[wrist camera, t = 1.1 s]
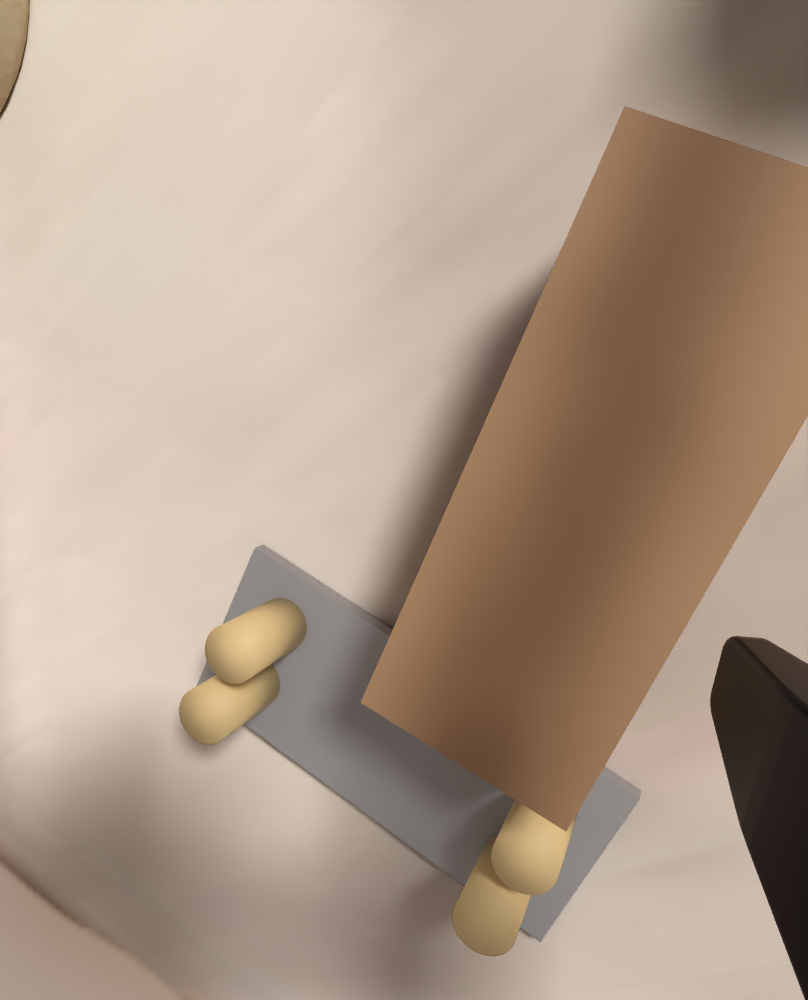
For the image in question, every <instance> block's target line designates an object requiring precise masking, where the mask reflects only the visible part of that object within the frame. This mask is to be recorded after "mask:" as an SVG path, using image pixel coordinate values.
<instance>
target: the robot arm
mask: <svg viewBox="0 0 808 1000" xmlns="http://www.w3.org/2000/svg"><path fill="white" fill-rule="evenodd" d="M710 705H711V713H712V718H713V721H714V725H715V729H716V733H717V737H718V741H719V745H720V749H721V753H722V757H723V761H724V765H725V769H726V773H727V777H728V781H729V785H730V789H731V793H732V797H733V801H734V805H735V809H736V812H737V816H738V820H739V823H740V827H741V830H742V833H743V836H744V838H745V841H746V844H747V847H748V850H749V852H750V855H751V858H752V860H753V863H754V866H755V868H756V871H757V874H758V876H759V879H760V882H761V884H762V887H763V890H764V892H765V895H766V897H767V900H768V903H769V905H770V908H771V911H772V913H773V916H774V919H775V921H776V924H777V927H778V929H779V932H780V935H781V937H782V940H783V943H784V945H785V948H786V950H787V953H788V956H789V958H790V961H791V964H792V966H793V969H794V972H795V974H796V977H797V980H798V982H799V985H800V988H801V990H802V993H803V995H804V998H805V1000H808V664H807V663H805V662H804V661H802V660H800V659H799V658H797V657H795V656H794V655H792V654H790V653H789V652H787V651H785V650H784V649H782V648H780V647H778V646H777V645H775V644H773V643H772V642H770V641H768V640H766V639H763V638H754V637H740V636H733V637H731V638H729V639H728V640H727V641H726V643H725V644H724V646H723V649H722V653H721V657H720V661H719V665H718V668H717V672H716V676H715V680H714V684H713V688H712V692H711V699H710Z"/></svg>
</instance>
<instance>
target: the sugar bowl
mask: <svg viewBox="0 0 808 1000" xmlns="http://www.w3.org/2000/svg"><path fill="white" fill-rule="evenodd" d="M28 17H29V0H0V112H1V110H2V109H3V107H4V105H5V102H6V100H7V98H8V96H9V94H10V92H11V89H12V87H13V85H14V83H15V80H16V78H17V75H18V72H19V69H20V65H21V61H22V57H23V52H24V48H25V43H26V37H27V27H28Z"/></svg>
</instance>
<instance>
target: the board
mask: <svg viewBox="0 0 808 1000" xmlns="http://www.w3.org/2000/svg"><path fill="white" fill-rule="evenodd" d="M807 416H808V167H805V166H802V165H799V164H796V163H793V162H790V161H787V160H784V159H781V158H778V157H775V156H772V155H769V154H766V153H763V152H760V151H757V150H754V149H751V148H748V147H745V146H742V145H739V144H736V143H733V142H730V141H727V140H724V139H721V138H718V137H715V136H712V135H709V134H706V133H703V132H700V131H697V130H694V129H691V128H688V127H685V126H682V125H679V124H676V123H673V122H670V121H667V120H664V119H661V118H658V117H655V116H652V115H649V114H646V113H643V112H640V111H637V110H634V109H631V108H628V107H624V109H623V111H622V114H621V116H620V118H619V121H618V123H617V125H616V127H615V130H614V132H613V134H612V136H611V139H610V141H609V143H608V145H607V148H606V150H605V152H604V154H603V157H602V159H601V161H600V163H599V166H598V168H597V170H596V172H595V175H594V177H593V179H592V181H591V184H590V186H589V188H588V190H587V193H586V195H585V197H584V199H583V202H582V204H581V206H580V208H579V211H578V213H577V215H576V218H575V220H574V222H573V224H572V227H571V229H570V231H569V233H568V236H567V238H566V240H565V242H564V245H563V247H562V249H561V251H560V254H559V256H558V258H557V260H556V263H555V265H554V267H553V269H552V272H551V274H550V276H549V278H548V281H547V283H546V285H545V287H544V290H543V292H542V294H541V296H540V299H539V301H538V303H537V305H536V308H535V310H534V312H533V314H532V317H531V319H530V321H529V324H528V326H527V328H526V330H525V333H524V335H523V337H522V339H521V342H520V344H519V346H518V348H517V351H516V353H515V355H514V357H513V360H512V362H511V364H510V366H509V369H508V371H507V373H506V375H505V378H504V380H503V382H502V384H501V387H500V389H499V391H498V393H497V396H496V398H495V400H494V402H493V405H492V407H491V409H490V411H489V414H488V416H487V418H486V421H485V423H484V425H483V427H482V430H481V432H480V434H479V436H478V439H477V441H476V443H475V445H474V448H473V450H472V452H471V454H470V457H469V459H468V461H467V463H466V466H465V468H464V470H463V472H462V475H461V477H460V479H459V481H458V484H457V486H456V488H455V490H454V493H453V495H452V497H451V499H450V502H449V504H448V506H447V508H446V511H445V513H444V515H443V518H442V520H441V522H440V524H439V527H438V529H437V531H436V533H435V536H434V538H433V540H432V542H431V545H430V547H429V549H428V551H427V554H426V556H425V558H424V560H423V563H422V565H421V567H420V569H419V572H418V574H417V576H416V578H415V581H414V583H413V585H412V587H411V590H410V592H409V594H408V596H407V599H406V601H405V603H404V605H403V608H402V610H401V612H400V615H399V617H398V619H397V621H396V624H395V626H394V628H393V630H392V633H391V635H390V637H389V639H388V642H387V644H386V646H385V648H384V651H383V653H382V655H381V657H380V660H379V662H378V664H377V666H376V669H375V671H374V673H373V675H372V678H371V680H370V682H369V684H368V687H367V689H366V691H365V693H364V696H363V698H362V700H361V702H360V703H362V704H364V705H365V706H367V707H368V708H370V709H371V710H373V711H375V712H376V713H378V714H379V715H381V716H383V717H384V718H386V719H387V720H389V721H391V722H392V723H394V724H395V725H397V726H399V727H400V728H402V729H403V730H405V731H407V732H408V733H410V734H411V735H413V736H414V737H416V738H418V739H419V740H421V741H422V742H424V743H426V744H427V745H429V746H430V747H432V748H434V749H435V750H437V751H438V752H440V753H442V754H443V755H445V756H446V757H448V758H450V759H451V760H453V761H454V762H456V763H457V764H459V765H461V766H462V767H464V768H465V769H467V770H469V771H470V772H472V773H473V774H475V775H477V776H478V777H480V778H481V779H483V780H485V781H486V782H488V783H489V784H491V785H492V786H494V787H496V788H497V789H499V790H500V791H502V792H504V793H505V794H507V795H508V796H510V797H512V798H513V799H515V800H516V801H518V802H520V803H521V804H523V805H524V806H526V807H528V808H529V809H531V810H532V811H534V812H535V813H537V814H539V815H540V816H542V817H543V818H545V819H547V820H548V821H550V822H551V823H553V824H555V825H556V826H558V827H559V828H561V829H563V830H564V831H567V830H568V828H569V826H570V825H571V823H572V821H573V819H574V818H575V816H576V814H577V813H578V811H579V809H580V807H581V806H582V804H583V802H584V800H585V799H586V797H587V795H588V794H589V792H590V790H591V788H592V787H593V785H594V783H595V781H596V780H597V778H598V776H599V775H600V773H601V771H602V769H603V768H604V766H605V764H606V763H607V761H608V759H609V757H610V756H611V754H612V752H613V750H614V749H615V747H616V745H617V744H618V742H619V740H620V738H621V737H622V735H623V733H624V732H625V730H626V728H627V726H628V725H629V723H630V721H631V719H632V718H633V716H634V714H635V713H636V711H637V709H638V707H639V706H640V704H641V702H642V701H643V699H644V697H645V695H646V694H647V692H648V690H649V688H650V687H651V685H652V683H653V682H654V680H655V678H656V676H657V675H658V673H659V671H660V670H661V668H662V666H663V664H664V663H665V661H666V659H667V657H668V656H669V654H670V652H671V651H672V649H673V647H674V645H675V644H676V642H677V640H678V638H679V637H680V635H681V633H682V632H683V630H684V628H685V626H686V625H687V623H688V621H689V620H690V618H691V616H692V614H693V613H694V611H695V609H696V607H697V606H698V604H699V602H700V601H701V599H702V597H703V595H704V594H705V592H706V590H707V589H708V587H709V585H710V583H711V582H712V580H713V578H714V576H715V575H716V573H717V571H718V570H719V568H720V566H721V564H722V563H723V561H724V559H725V558H726V556H727V554H728V552H729V551H730V549H731V547H732V545H733V544H734V542H735V540H736V539H737V537H738V535H739V533H740V532H741V530H742V528H743V527H744V525H745V523H746V521H747V520H748V518H749V516H750V514H751V513H752V511H753V509H754V508H755V506H756V504H757V502H758V501H759V499H760V497H761V495H762V494H763V492H764V490H765V489H766V487H767V485H768V483H769V482H770V480H771V478H772V477H773V475H774V473H775V471H776V470H777V468H778V466H779V464H780V463H781V461H782V459H783V458H784V456H785V454H786V452H787V451H788V449H789V447H790V446H791V444H792V442H793V440H794V439H795V437H796V435H797V433H798V432H799V430H800V428H801V427H802V425H803V423H804V421H805V420H806V418H807Z"/></svg>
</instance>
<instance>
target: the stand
mask: <svg viewBox="0 0 808 1000" xmlns="http://www.w3.org/2000/svg"><path fill="white" fill-rule="evenodd" d="M392 630H393V629H392V628H390V627H389V626H387V625H386V624H384V623H382V622H381V621H379V620H378V619H376V618H375V617H373V616H372V615H370V614H369V613H367V612H366V611H364V610H363V609H361V608H359V607H358V606H356V605H355V604H353V603H352V602H350V601H349V600H347V599H346V598H344V597H343V596H341V595H340V594H338V593H336V592H335V591H333V590H332V589H330V588H329V587H327V586H326V585H324V584H323V583H321V582H320V581H318V580H317V579H315V578H313V577H312V576H310V575H309V574H307V573H306V572H304V571H303V570H301V569H300V568H298V567H297V566H295V565H294V564H292V563H290V562H289V561H287V560H286V559H284V558H283V557H281V556H280V555H278V554H277V553H275V552H274V551H272V550H271V549H269V548H267V547H266V546H264V545H261V546H259V547H256V548H255V549H254V552H253V554H252V556H251V559H250V561H249V564H248V566H247V568H246V571H245V573H244V575H243V578H242V580H241V582H240V585H239V587H238V590H237V592H236V594H235V597H234V599H233V601H232V604H231V606H230V609H229V611H228V613H227V616H226V618H225V620H224V623H223V624H222V625H221V626H219V627H217V628H215V629H214V630H212V631H211V632H210V634H209V635H208V637H207V640H206V644H205V654H206V659H207V663H206V665H205V668H204V670H203V672H202V675H201V677H200V680H199V682H198V684H197V686H196V687H195V688H193V689H192V690H190V691H188V692H187V693H186V694H185V695H184V696H183V698H182V700H181V702H180V707H179V714H180V719H181V722H182V725H183V727H184V728H185V730H186V732H187V733H188V734H189V735H190V736H191V737H192V738H193V739H194V740H196V741H198V742H200V743H202V744H206V745H212V744H216V743H218V742H220V741H221V740H222V739H224V738H225V737H227V736H228V735H229V734H231V733H232V732H233V731H235V730H236V729H237V728H239V727H240V726H241V725H243V724H244V725H245V726H247V727H248V728H250V729H251V730H252V731H254V732H255V733H256V734H258V735H259V736H260V737H262V738H263V739H265V740H266V741H267V742H269V743H270V744H271V745H273V746H274V747H275V748H277V749H278V750H279V751H281V752H282V753H284V754H285V755H286V756H288V757H289V758H290V759H292V760H293V761H294V762H296V763H297V764H299V765H300V766H301V767H303V768H304V769H305V770H307V771H308V772H309V773H311V774H312V775H313V776H315V777H316V778H318V779H319V780H320V781H322V782H323V783H324V784H326V785H327V786H328V787H330V788H331V789H333V790H334V791H335V792H337V793H338V794H339V795H341V796H342V797H343V798H345V799H346V800H347V801H349V802H350V803H352V804H353V805H354V806H356V807H357V808H358V809H360V810H361V811H362V812H364V813H365V814H367V815H368V816H369V817H371V818H372V819H373V820H375V821H376V822H377V823H379V824H380V825H382V826H383V827H384V828H386V829H387V830H388V831H390V832H391V833H392V834H394V835H395V836H396V837H398V838H399V839H401V840H402V841H403V842H405V843H406V844H407V845H409V846H410V847H411V848H413V849H414V850H416V851H417V852H418V853H420V854H421V855H422V856H424V857H425V858H426V859H428V860H429V861H430V862H432V863H433V864H435V865H436V866H437V867H439V868H440V869H441V870H443V871H444V872H445V873H447V874H448V875H450V876H451V877H452V878H454V879H455V880H456V881H458V882H459V883H460V884H462V885H463V886H464V888H463V890H462V892H461V894H460V897H459V899H458V901H457V903H456V905H455V907H454V909H453V914H452V921H453V926H454V929H455V931H456V933H457V935H458V936H459V938H460V939H461V940H462V942H463V943H464V944H465V945H466V946H468V947H469V948H470V949H472V950H473V951H475V952H477V953H479V954H482V955H486V956H499V955H502V954H505V953H506V952H508V951H509V950H510V949H511V948H512V946H513V945H514V942H515V940H516V937H517V934H518V931H519V928H522V929H523V930H524V931H526V932H527V933H528V934H530V935H531V936H533V937H534V938H535V939H537V940H538V941H539V942H541V940H542V939H543V937H544V936H545V935H546V933H547V932H548V930H549V929H550V927H551V926H552V924H553V923H554V922H555V920H556V919H557V917H558V916H559V914H560V913H561V912H562V910H563V909H564V907H565V906H566V904H567V903H568V901H569V900H570V899H571V897H572V896H573V894H574V893H575V891H576V890H577V889H578V887H579V886H580V884H581V883H582V881H583V880H584V878H585V877H586V876H587V874H588V873H589V871H590V870H591V868H592V867H593V866H594V864H595V863H596V861H597V860H598V858H599V857H600V855H601V854H602V853H603V851H604V850H605V848H606V847H607V845H608V844H609V843H610V841H611V840H612V838H613V837H614V835H615V834H616V832H617V831H618V830H619V828H620V827H621V825H622V824H623V822H624V821H625V820H626V818H627V817H628V815H629V814H630V812H631V811H632V809H633V808H634V807H635V805H636V804H637V802H638V801H639V799H640V793H641V791H640V790H639V789H637V788H636V787H634V786H633V785H631V784H629V783H628V782H626V781H625V780H623V779H622V778H620V777H619V776H617V775H616V774H614V773H613V772H611V771H610V770H608V769H606V768H605V767H604V768H603V769H602V771H601V773H600V775H599V776H598V778H597V780H596V781H595V783H594V785H593V787H592V788H591V790H590V792H589V794H588V795H587V797H586V799H585V800H584V802H583V804H582V806H581V807H580V809H579V811H578V813H577V814H576V816H575V818H574V819H573V821H572V823H571V825H570V826H569V828H568V830H567V831H564V830H563V829H561V828H559V827H558V826H556V825H555V824H553V823H551V822H550V821H548V820H547V819H545V818H543V817H542V816H540V815H539V814H537V813H535V812H534V811H532V810H531V809H529V808H528V807H526V806H524V805H523V804H521V803H520V802H518V801H516V800H515V799H513V798H512V797H510V796H508V795H507V794H505V793H504V792H502V791H500V790H499V789H497V788H496V787H494V786H492V785H491V784H489V783H488V782H486V781H485V780H483V779H481V778H480V777H478V776H477V775H475V774H473V773H472V772H470V771H469V770H467V769H465V768H464V767H462V766H461V765H459V764H457V763H456V762H454V761H453V760H451V759H450V758H448V757H446V756H445V755H443V754H442V753H440V752H438V751H437V750H435V749H434V748H432V747H430V746H429V745H427V744H426V743H424V742H422V741H421V740H419V739H418V738H416V737H414V736H413V735H411V734H410V733H408V732H407V731H405V730H403V729H402V728H400V727H399V726H397V725H395V724H394V723H392V722H391V721H389V720H387V719H386V718H384V717H383V716H381V715H379V714H378V713H376V712H375V711H373V710H371V709H370V708H368V707H367V706H365V705H364V704H362V703H360V702H361V700H362V698H363V696H364V693H365V691H366V689H367V687H368V684H369V682H370V680H371V678H372V675H373V673H374V671H375V669H376V666H377V664H378V662H379V660H380V657H381V655H382V653H383V651H384V648H385V646H386V644H387V642H388V639H389V637H390V635H391V633H392Z"/></svg>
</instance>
